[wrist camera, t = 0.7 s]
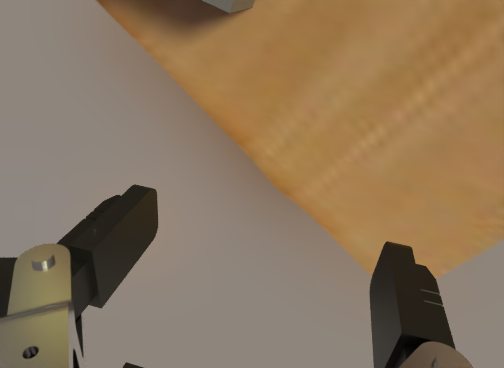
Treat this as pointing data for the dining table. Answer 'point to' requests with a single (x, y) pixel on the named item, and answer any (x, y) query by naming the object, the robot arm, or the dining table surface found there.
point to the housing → (231, 4)
